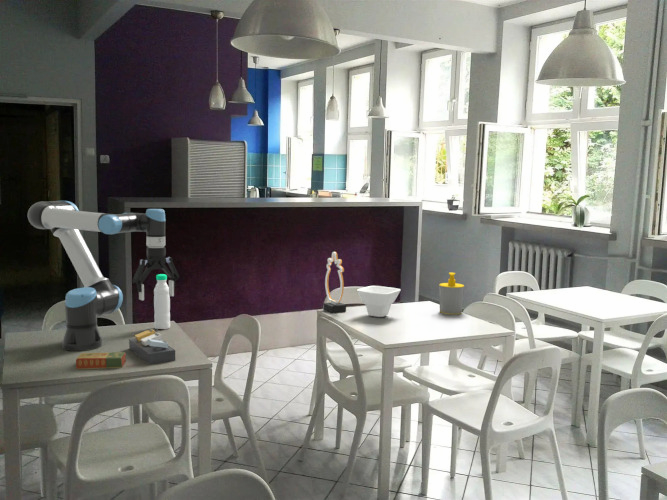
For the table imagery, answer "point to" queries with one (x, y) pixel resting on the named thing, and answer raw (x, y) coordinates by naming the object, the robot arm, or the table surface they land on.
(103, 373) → the table surface
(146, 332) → the rocker amber
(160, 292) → the water bottle
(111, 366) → the carton
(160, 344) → the rocker blue
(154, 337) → the rocker white
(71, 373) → the table surface
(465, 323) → the table surface
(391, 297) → the bowl
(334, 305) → the lamp
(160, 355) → the power strip
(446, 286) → the soap bottle
